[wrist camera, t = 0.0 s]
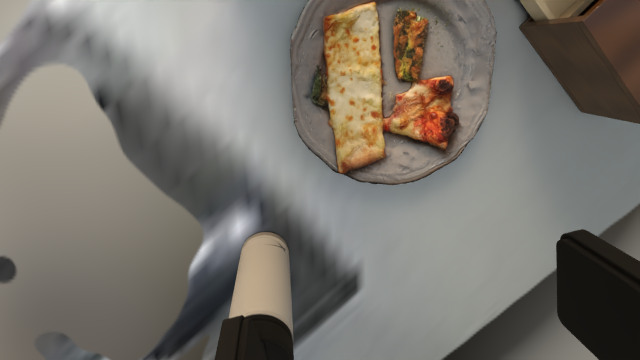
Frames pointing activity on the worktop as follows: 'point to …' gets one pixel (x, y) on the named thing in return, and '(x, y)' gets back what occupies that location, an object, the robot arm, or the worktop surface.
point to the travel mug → (266, 293)
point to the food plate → (391, 83)
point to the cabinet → (595, 56)
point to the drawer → (554, 8)
